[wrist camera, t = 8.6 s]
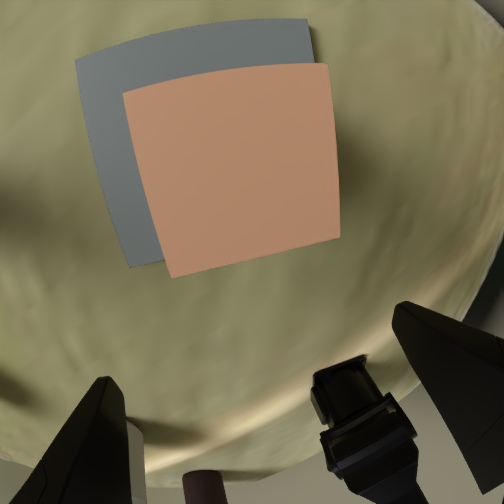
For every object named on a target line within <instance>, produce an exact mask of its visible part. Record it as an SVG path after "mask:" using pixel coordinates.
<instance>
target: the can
mask: <svg viewBox="0 0 504 504" xmlns="http://www.w3.org/2000/svg"><path fill="white" fill-rule="evenodd" d="M126 422H127V430H128V439H129V463H130V481H131V494H132V504H147V498H146V484H145V467H144V436H143V434H142V432H141V431H140V430H139V429H138V428H136V426H135V425H134V424H132V423H131V422H129V421H127V420H126Z"/></svg>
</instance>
